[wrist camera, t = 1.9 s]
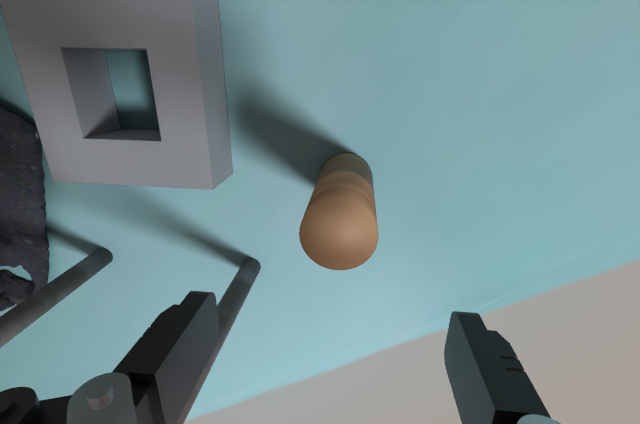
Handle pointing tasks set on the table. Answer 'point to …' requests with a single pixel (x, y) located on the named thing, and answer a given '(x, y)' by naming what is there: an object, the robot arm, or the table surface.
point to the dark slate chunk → (21, 210)
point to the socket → (97, 94)
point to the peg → (341, 215)
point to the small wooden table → (70, 280)
